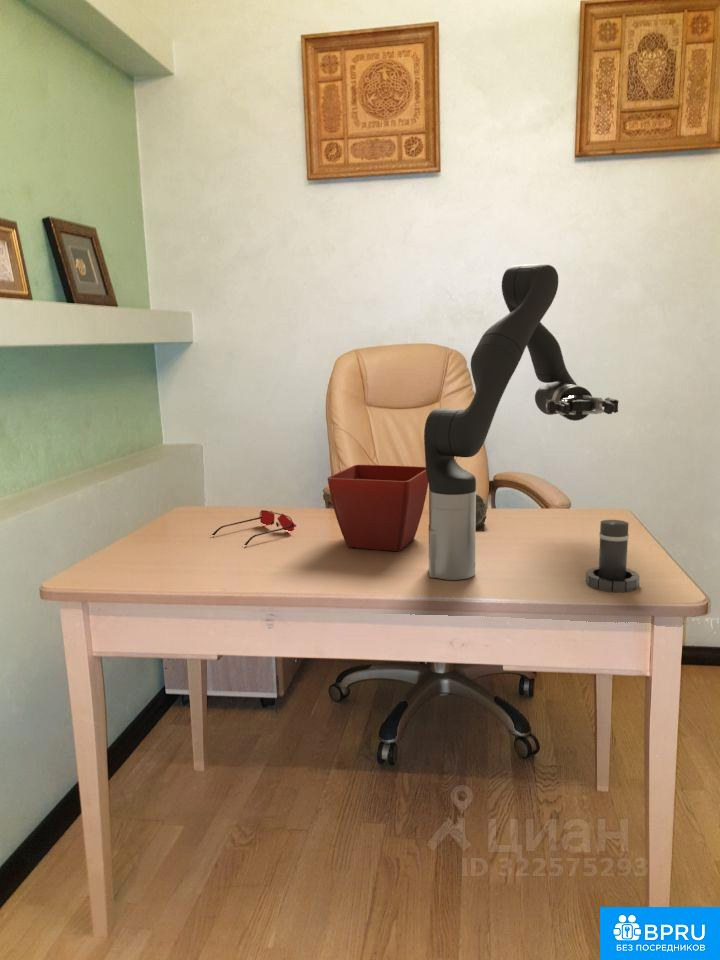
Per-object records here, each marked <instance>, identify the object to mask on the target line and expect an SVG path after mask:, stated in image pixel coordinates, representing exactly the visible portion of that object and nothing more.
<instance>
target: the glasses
mask: <svg viewBox="0 0 720 960" xmlns="http://www.w3.org/2000/svg"><path fill="white" fill-rule="evenodd" d="M275 514H276V515H279V517H277V522H275ZM256 520H260V524H261V523H263V524H266V525H267V526H273V525H274V524H275V525H276V527H277V529H273V530H269V531H265V532H262V533H261V532H260V533H257V534H255V535H252V536H250V537H249V538H248V539H247V541H246V542H245V543H244V544H243V545H246V546H247V545H249V543H250V542H251V541H252V539H254V538H255V537H258V536H262V535H265V534H270V533H274V532H278V531H282V530H283V531H284V530H288V531H291V532H293V531H294V530H295V528H296V527H297V524H295V522H293V519H292V518H291V516H289V515H285V514H284V513H278V512H273V511H272V510H270V511H269V510H266V509H264V510H263V509H261V510H260V512H259V517H254V518H251V519H246V520H242V521H238V522H234V523H229V524H224V525H222V526H220V527H218V528H217V529H216V530H215V531H214V532H213V533H212V534H211V535H214V536H215V535H216V534H217V533H218V532H219V531H220V530H221V529H223V528H227V527H231V526H234V525H235V526H236V525H239V524H242V523H243V524H244V523H247V522H252V521H256ZM279 527H281V528H279Z"/></svg>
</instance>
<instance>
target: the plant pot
mask: <svg viewBox="0 0 720 960" xmlns="http://www.w3.org/2000/svg"><path fill="white" fill-rule="evenodd" d="M327 483H328V489H329V494H330V499H331V502H332V507H333V510H334V514H335V518H336V520H337V523H338V526H339V528H340V531H341V532H340V533H341V534H342V537H343V539H344V542H345V544H346V546H347V547H348V548H353V547H355V549H356V548H358V549H365V550H366V549H368V550H369V549H370V550H381V551H390V552H391V551H394V552H398V551H401V550H402V549H403V548H404V547H406V546H407V545H408V544H409V543H410V542H411V541H412V540H414V539H415V537H416V534H417V532H418V528H419V525H420V521H421V518H422V514H423V512H424V511H423V510H424V506H425V502H426V499H427V493H428V489H429V482H428V479H427V475H426V466H414V465H413V466H412V465H411V466H410V465H390V464H389V465H381V464H379V465H378V464H355V465H352V466H349V467H347V468H344V469H343V470H341V471H339V472H337V473H334V474H332V475H330V476H327Z"/></svg>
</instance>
